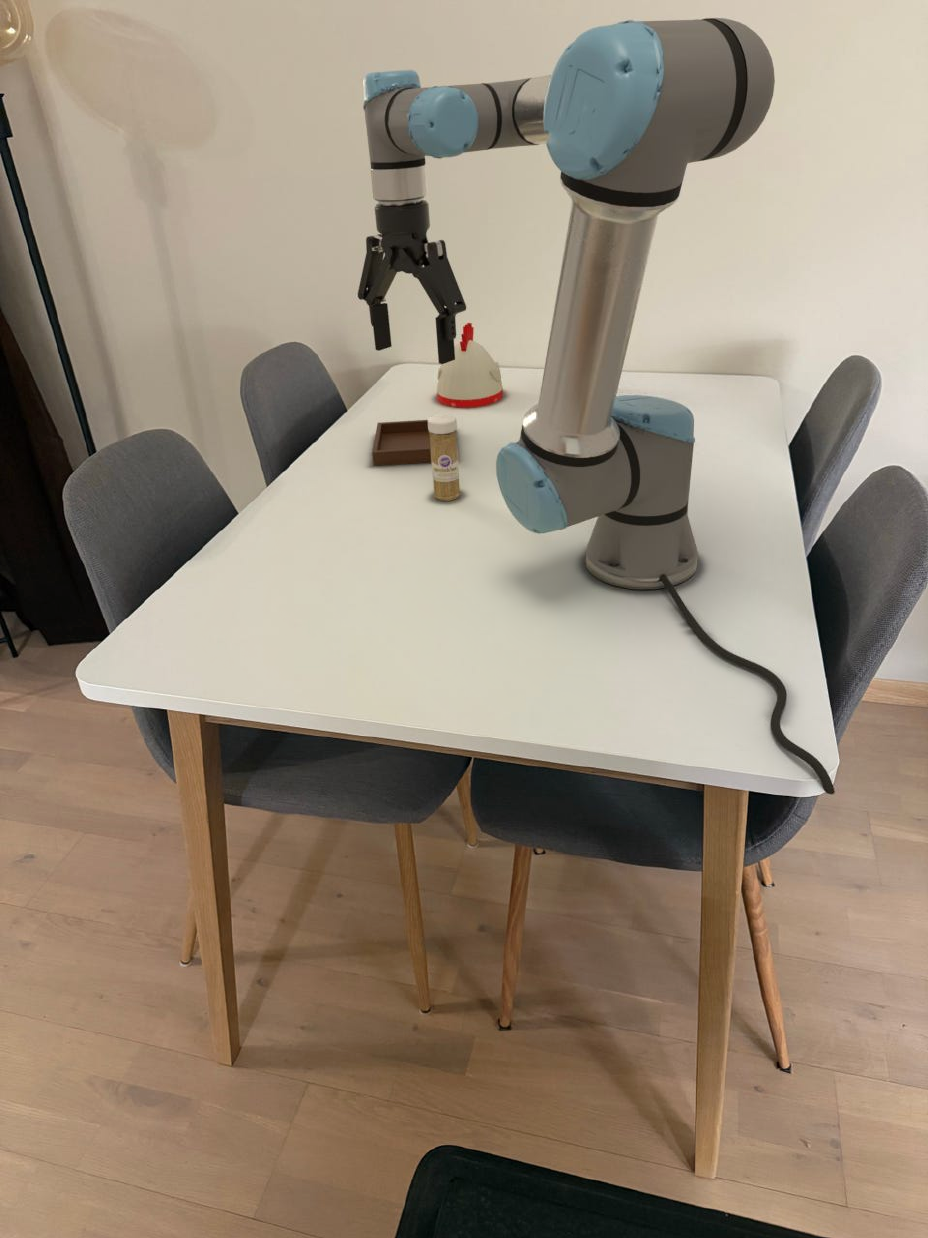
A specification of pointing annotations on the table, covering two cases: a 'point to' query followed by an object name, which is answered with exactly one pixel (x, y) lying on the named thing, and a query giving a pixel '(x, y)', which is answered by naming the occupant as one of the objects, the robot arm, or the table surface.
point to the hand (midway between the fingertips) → (414, 354)
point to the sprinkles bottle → (444, 456)
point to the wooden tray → (402, 443)
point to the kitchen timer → (469, 375)
